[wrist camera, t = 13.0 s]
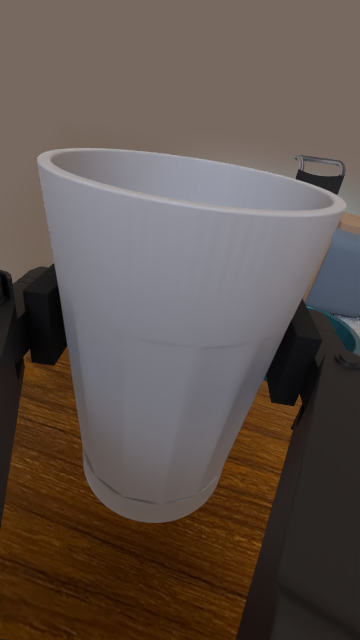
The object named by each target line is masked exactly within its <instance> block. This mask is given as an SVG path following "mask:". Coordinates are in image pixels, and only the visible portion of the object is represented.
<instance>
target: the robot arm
mask: <svg viewBox="0 0 360 640" xmlns="http://www.w3.org/2000/svg"><path fill="white" fill-rule="evenodd" d="M66 347H67V340H66V334H65V327H64V320H63V314H62V307H61V301H60V294H59V288H58V282H57V276H56V270H55V264H52V265H51V266H50V267H49V268H47V267H38V268H36V269H33V270H30V271H29V272H27V273H26V274H25V275H24V276H23V277H22V278H20V279H18V280H17V282H15V283H14V284H12V278H11V274H9V273H8V272H6V271H3V270H0V528H1V521H2V515H3V508H4V501H5V495H6V488H7V481H8V475H9V468H10V461H11V455H12V448H13V442H14V435H15V428H16V422H17V415H18V408H19V402H20V395H21V388H22V382H23V375H24V369H25V366H24V359H23V357H24V355H25V354H26V353H27V352H28V351H29V349H30V352H31V359H32V362H34V363H40V364H46V365H52V366H54V365H55V363H56V362H57V360H58V359H59V357H60V356H61V354H62V353H63V351H64V350H65V348H66ZM266 377H267V382H268V388H269V393H270V398H271V402H272V403H278V404H284V405H290V406H294V404H295V402H296V400H297V398H298V395H299V393H300V397H301V400H302V405H301V407H300V410H299V412H298V414H297V416H296V418H295V421H294V423H293V425H292V427H291V429H292V430H293V433H292V436H291V440H290V444H289V447H288V451H287V455H286V458H285V462H284V466H283V469H282V473H281V476H280V480H279V484H278V487H277V491H276V495H275V498H274V502H273V506H272V509H271V513H270V517H269V520H268V524H267V527H266V531H265V535H264V538H263V542H262V546H261V549H260V553H259V557H258V560H257V564H256V568H255V571H254V575H253V579H252V582H251V586H250V589H249V593H248V597H247V600H246V604H245V608H244V611H243V615H242V619H241V622H240V626H239V630H238V633H237V636H236V640H360V356H358V355H357V354H355V353H352V352H350V351H347V350H346V349H345V347H344V345H343V344H342V342H341V340H340V338H339V337H338V335H337V334H336V331H335V329H334V328H333V326H332V324H331V322H330V321H329V319H328V318H327V317H326V316H325V315H323V314H322V313H321V312H320V311H315V310H309V309H308V308H307V306H306V304H305V302H304V300H303V298H302V300H301V302H300V304H299V306H298V308H297V310H296V312H295V314H294V316H293V318H292V320H291V321H290V323H289V326H288V328H287V330H286V332H285V334H284V336H283V338H282V341H281V343H280V345H279V347H278V349H277V351H276V353H275V356H274V358H273V360H272V362H271V364H270V366H269V368H268V371H267V373H266ZM0 640H4V639H0Z"/></svg>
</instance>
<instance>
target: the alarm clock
mask: <svg viewBox="0 0 360 640" xmlns="http://www.w3.org/2000/svg"><path fill="white" fill-rule="evenodd" d="M303 300H304V302H305V304H306V305H310V306H313V307H316V308H319V309H321V310H323V311H326V312H328V313H332V314H338V315H343V316H349V317H360V217H359V216H357V215H354V214H350V213H345V212H344V214H343V216H342V218H341V220H340V222H339V224H338V226H337V228H336V230H335V232H334V234H333V236H332V238H331V240H330V242H329V244H328V246H327V248H326V250H325V252H324V255H323V257H322V259H321V261H320V263H319V265H318V267H317V269H316V271H315V273H314V275H313V277H312V279H311V281H310V283H309V285H308V287H307V289H306V291H305V294H304V296H303Z"/></svg>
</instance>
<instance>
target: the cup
mask: <svg viewBox="0 0 360 640" xmlns="http://www.w3.org/2000/svg"><path fill="white" fill-rule="evenodd" d="M37 164H38V170H39V175H40V181H41V187H42V193H43V199H44V205H45V211H46V217H47V223H48V229H49V235H50V241H51V246H52V252H53V258H54V264H55V270H56V276H57V282H58V288H59V294H60V301H61V307H62V314H63V320H64V327H65V334H66V340H67V347H68V353H69V360H70V366H71V373H72V379H73V386H74V392H75V399H76V405H77V412H78V419H79V425H80V432H81V438H82V445H83V466H84V472H85V476H86V479H87V482H88V484H89V486H90V488H91V489H92V491H93V493H94V494H95V495H96V497H97V498H98V499H99V500H100V501H101V502H102V503H103V504H104V505H105V506H107V507H108V508H109V509H111V510H112V511H114V512H115V513H117V514H119V515H121V516H123V517H126V518H129V519H132V520H135V521H140V522H147V523H161V522H168V521H173V520H176V519H180V518H182V517H185V516H187V515H189V514H191V513H192V512H194V511H195V510H197V509H198V508H199V507H201V506H202V505H203V504H204V503H205V502H206V501H207V500H208V499H209V497H210V496H211V495H212V493H213V492H214V490H215V488H216V486H217V484H218V481H219V478H220V475H221V472H222V469H223V466H224V463H225V461H226V459H227V456H228V454H229V452H230V450H231V448H232V446H233V444H234V441H235V439H236V437H237V435H238V433H239V431H240V429H241V426H242V424H243V422H244V420H245V418H246V416H247V414H248V411H249V409H250V407H251V405H252V403H253V401H254V398H255V396H256V394H257V392H258V390H259V388H260V386H261V383H262V381H263V379H264V377H265V375H266V373H267V371H268V368H269V366H270V364H271V362H272V360H273V358H274V356H275V353H276V351H277V349H278V347H279V345H280V343H281V341H282V338H283V336H284V334H285V332H286V330H287V328H288V326H289V323H290V321H291V320H292V318H293V316H294V314H295V312H296V310H297V308H298V306H299V304H300V302H301V300H302V298H303V296H304V294H305V291H306V289H307V287H308V285H309V283H310V281H311V279H312V277H313V275H314V273H315V271H316V269H317V267H318V265H319V263H320V261H321V259H322V257H323V255H324V252H325V250H326V248H327V246H328V244H329V242H330V240H331V238H332V236H333V234H334V232H335V230H336V228H337V226H338V224H339V222H340V220H341V218H342V216H343V214H344V211H345V209H346V203H345V202H344V200H343V199H342V198H340V197H339V196H337V195H335V194H334V193H332V192H330V191H327V190H325V189H323V188H320V187H317V186H315V185H312V184H309V183H306V182H303V181H299V180H296V179H292V178H289V177H285V176H282V175H277V174H274V173H270V172H265V171H261V170H256V169H252V168H247V167H243V166H237V165H232V164H227V163H222V162H216V161H210V160H204V159H198V158H192V157H185V156H178V155H169V154H162V153H153V152H144V151H134V150H121V149H103V148H69V149H58V150H52V151H47V152H44V153H42V154H41V155H39V156H38V158H37Z"/></svg>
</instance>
